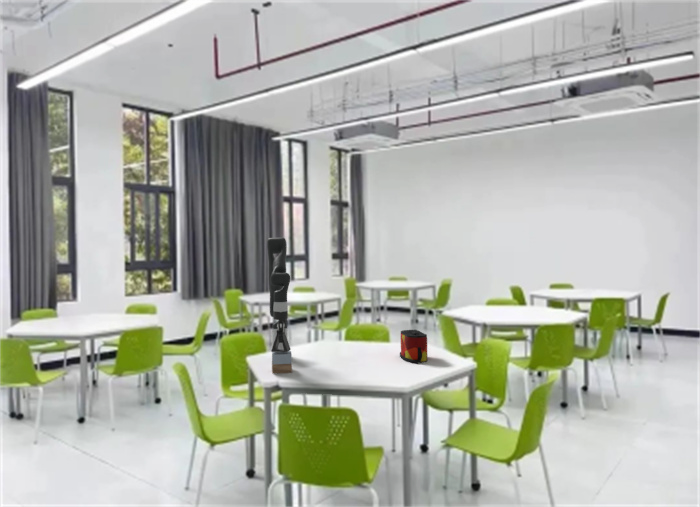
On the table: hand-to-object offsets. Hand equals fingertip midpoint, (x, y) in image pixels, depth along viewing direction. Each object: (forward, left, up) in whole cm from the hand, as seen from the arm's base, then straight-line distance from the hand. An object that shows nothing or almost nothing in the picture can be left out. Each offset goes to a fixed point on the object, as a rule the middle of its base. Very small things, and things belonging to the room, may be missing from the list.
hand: (280, 341), depth 277 cm
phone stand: (0, 0, -5) cm, 5 cm away
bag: (-19, +77, -16) cm, 81 cm away
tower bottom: (0, 0, -16) cm, 16 cm away
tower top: (0, 0, -11) cm, 11 cm away
